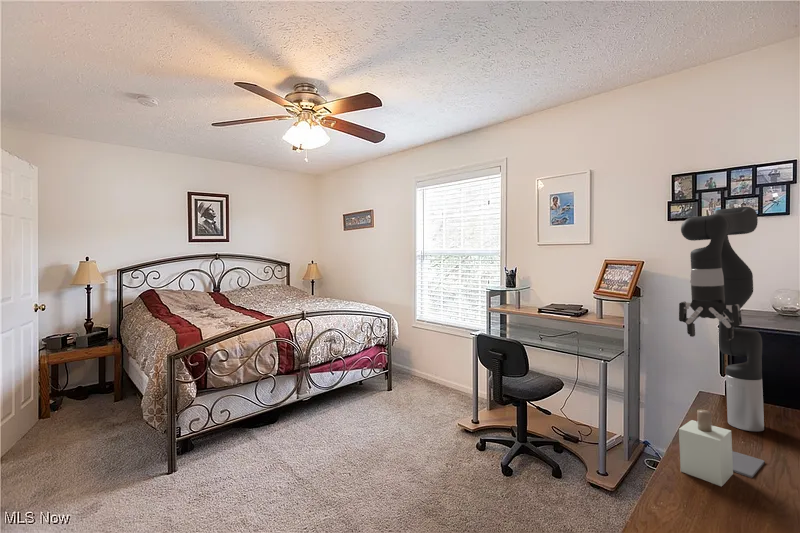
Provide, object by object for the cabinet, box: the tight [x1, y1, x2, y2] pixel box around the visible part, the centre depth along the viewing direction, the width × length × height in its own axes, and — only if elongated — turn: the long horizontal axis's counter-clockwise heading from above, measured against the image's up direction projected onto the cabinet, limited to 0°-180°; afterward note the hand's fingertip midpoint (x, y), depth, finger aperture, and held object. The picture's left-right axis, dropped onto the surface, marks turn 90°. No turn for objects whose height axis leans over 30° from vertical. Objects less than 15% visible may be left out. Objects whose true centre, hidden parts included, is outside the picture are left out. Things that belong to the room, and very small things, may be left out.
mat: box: [732, 450, 765, 479], centre depth 108 cm, size 12×12×1 cm
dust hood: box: [678, 409, 734, 488], centre depth 103 cm, size 9×9×17 cm
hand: (709, 338), depth 110 cm, fingers open, 8 cm apart
